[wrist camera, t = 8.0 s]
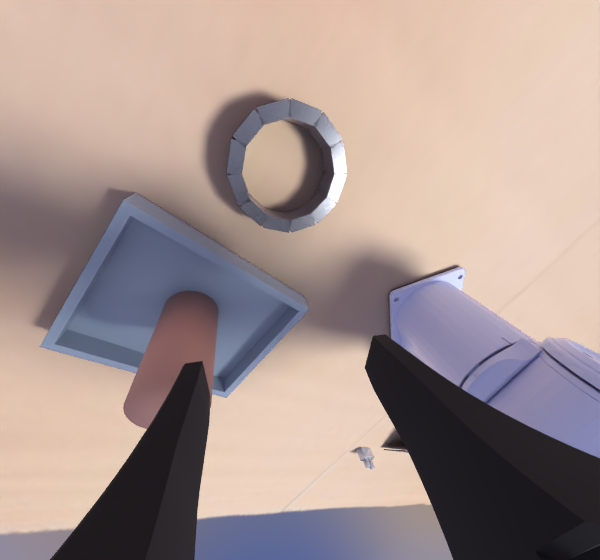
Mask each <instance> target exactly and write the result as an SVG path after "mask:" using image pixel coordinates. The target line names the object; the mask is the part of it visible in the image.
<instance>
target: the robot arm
mask: <svg viewBox="0 0 600 560" xmlns="http://www.w3.org/2000/svg"><path fill="white" fill-rule="evenodd" d="M464 275H465V269H464V268H462V267H458V268H455V269H452V270H449V271H446V272H444V273H441V274H438V275H435V276H432V277H429V278H427V279H424V280H421V281H418V282H415V283H412V284H410V285H407V286H404V287H401V288H398V289H395V290H393V291H392V292H391V293H390V295H389V298H390V324H391V338H389V337H388V336H387V335H378V336H373V338H372V342H371V346H370V350H369V354H368V357H367V361H366V365H365V369H366V372H367V374H368V377H369V379H370V382H371V384H372V386H373V389H374V391H375V392H376V394H377V396H378V398H379V400H380V402H381V403H382V405H383V407H384V409H385V411H386V412H387V414H388V416H389V418H390V419H391V421H392V423H393V425H394V426H395V428H396V430H397V432H398V433H399V435H400V437H401V439H402V441H403V442H404V444H405V446H406V448H407V450H408V452H409V454H410V456H411V459H412V461H413V463H414V465H415V467H416V470H417V472H418V474H419V476H420V478H421V481H422V483H423V485H424V488H425V490H426V492H427V495H428V497H429V499H430V502H431V504H432V506H433V508H434V511H435V514H436V516H437V519H438V521H439V523H440V526H441V528H442V531H443V533H444V536H445V538H446V541H447V544H448V546H449V549H450V551H451V554H452V557H453V560H600V355H599V354H598V353H596V352H594V351H592V350H590V349H588V348H586V347H584V346H582V345H580V344H578V343H576V342H574V341H571V340H569V339H566V338H555V339H554V338H546V339H545V340H544V341H543V342H542V343H541V342H538V341H535V340H534V339H533V338H531V337H530V336H528V335H527V334H525V333H524V332H522V331H521V330H519V329H518V328H516V327H515V326H513V325H512V324H510V323H509V322H507V321H506V320H504V319H503V318H501V317H500V316H498V315H497V314H495V313H494V312H492V311H491V310H489V309H488V308H486V307H485V306H484V305H482V304H481V303H479V302H478V301H476V300H475V299H473V298H472V297H470V296H469V295H467V294H466V293H464V292H463V291H462V287H463V281H464ZM395 298H396V299H395ZM209 416H210V391H209V387H208V382H207V378H206V374H205V369H204V365H203V361H198V362H191V363H185V364H184V365H183V367H182V369H181V371H180V373H179V375H178V377H177V379H176V381H175V383H174V384H173V386H172V388H171V390H170V392H169V394H168V395H167V397H166V399H165V401H164V402H163V404H162V406H161V407H160V409H159V411H158V412H157V414H156V416H155V417H154V419H153V421H152V422H151V424H150V426H149V427H148V429H147V430H146V432H145V433H144V435H143V436H142V438H141V440H140V441H139V443H138V444H137V446H136V447H135V449H134V450H133V452H132V453H131V455H130V456H129V458H128V459H127V460H126V462H125V463H124V465H123V466H122V468H121V469H120V470H119V472H118V473H117V475H116V476H115V477H114V479H113V480H112V482H111V483H110V484H109V486H108V487H107V488H106V490H105V491H104V492H103V494H102V495H101V496H100V498H99V499H98V500H97V502H96V503H95V504H94V505H93V507H92V508H91V509H90V511H89V512H88V513H87V514H86V516H85V517H84V518H83V520H82V521H81V522H80V523H79V525H78V526H77V527H76V529H75V530H74V531H73V532H72V534H71V535H70V536H69V537H68V539H67V540H66V541H65V542H64V543H63V545H62V546H61V547H60V548H59V550H58V551H57V552H56V553H55V554H54V556H53V557H52V558H51V559H50V560H194V555H195V539H196V524H197V508H198V499H199V491H200V484H201V477H202V470H203V463H204V456H205V449H206V442H207V435H208V427H209Z"/></svg>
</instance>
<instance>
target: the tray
mask: <svg viewBox="0 0 600 560" xmlns="http://www.w3.org/2000/svg"><path fill="white" fill-rule="evenodd" d="M183 291H197V292H201V293H204V294H206V295H208V296H209V297H211V298H212V299H213V300H214V301H215V303H216V304H217V307H218V325H217V337H216V349H215V362H214V374H213V387H212V394H214V395H218V396H221V397H225V398H227V397H228V396H229V395H230V393H231V392H232V391H233V390H234V389H235V388H236V387H237V386H238V385H239V384H240V383H241V382H242V381H243V380H244V379H245V377H246V376H247V375H248V374H249V373H250V372H251V371H252V370H253V369H254V368H255V367H256V366H257V365H258V364H259V363H260V361H261V360H262V359H263V358H264V357H265V356H266V355H267V354H268V353H269V352H270V351H271V350H272V349H273V348H274V347H275V345H276V344H277V343H278V342H279V341H280V340H281V339H282V338H283V337H284V336H285V335H286V334H287V333H288V332H289V331H290V329H291V328H292V327H293V326H294V325H295V324H296V323H297V322H298V321H299V320H300V319H301V318H302V317H303V316H304V315H305V313H306V312H307V311H308V310H309V307H308V305H307V303H306V301H305V298H304V296H303V295H301V294H300V293H298V292H296V291H295V290H293V289H292V288H290V287H288V286H287V285H285V284H283V283H282V282H280V281H279V280H277V279H275V278H274V277H272V276H270V275H269V274H267V273H266V272H264V271H262V270H261V269H259V268H257V267H256V266H254V265H253V264H251V263H249V262H248V261H246V260H244V259H243V258H241V257H240V256H238V255H236V254H235V253H233V252H231V251H230V250H228V249H227V248H225V247H223V246H222V245H220V244H219V243H217V242H215V241H214V240H212V239H210V238H209V237H207V236H206V235H204V234H202V233H201V232H199V231H197V230H196V229H194V228H193V227H191V226H189V225H188V224H186V223H184V222H183V221H181V220H180V219H178V218H176V217H175V216H173V215H171V214H170V213H168V212H167V211H165V210H163V209H162V208H160V207H158V206H157V205H155V204H154V203H152V202H150V201H149V200H147V199H145V198H144V197H142V196H141V195H139V194H137V193H134V194H133V195H131V196H129V197H127V198H126V199H124V200H123V202H122V203H121V205H120V207H119V209H118V210H117V212H116V214H115V216H114V217H113V219H112V221H111V223H110V224H109V226H108V228H107V230H106V231H105V233H104V235H103V237H102V239H101V240H100V242H99V244H98V246H97V247H96V249H95V251H94V253H93V254H92V256H91V258H90V260H89V261H88V263H87V265H86V267H85V268H84V270H83V272H82V274H81V275H80V277H79V279H78V281H77V282H76V284H75V286H74V288H73V289H72V291H71V293H70V295H69V296H68V298H67V300H66V302H65V303H64V305H63V307H62V309H61V311H60V312H59V314H58V316H57V318H56V319H55V321H54V323H53V325H52V326H51V328H50V330H49V332H48V333H47V335H46V337H45V339H44V340H43V342H42V344H41V346H40V347H42V348H46V349H49V350H53V351H57V352H60V353H64V354H68V355H71V356H75V357H79V358H82V359H86V360H90V361H93V362H97V363H101V364H104V365H108V366H112V367H115V368H119V369H123V370H126V371H130V372H134V373H137V371H138V368H139V366H140V363H141V361H142V358H143V356H144V354H145V351H146V349H147V346H148V344H149V341H150V339H151V336H152V334H153V332H154V329H155V327H156V324H157V322H158V319H159V317H160V314H161V312H162V309H163V307H164V305H165V303H166V301H167V300H168V299H169V298H170V297H171V296H173V295H174V294H176V293H179V292H183Z"/></svg>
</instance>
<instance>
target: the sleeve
mask: <svg viewBox="0 0 600 560" xmlns="http://www.w3.org/2000/svg"><path fill="white" fill-rule="evenodd" d="M283 119H284V120H287V121H290V122H292V123H295V124H298V125H300V126H303V127H306V128H307V130H308V131H309V132H310V134H311V135H312V136H313V138H314V139H315V140H316V141H317V143H318V144H319V145H320V147H321V153H322V159H323V165H324V172H323V176H322V179H321V182H320V186H319V189H318V192H317V193H316V194H315V195H314V196H313V197H312V198H311V199H310V200H309V201H308V202H307V203H306V204H305V205H304V206H303V207H300V208H297V209H294V210H291V211H288V212H285V213H284V212H280V211H275V210H271V209H267V208H264V207H263V206H262V205H261V204H260V203H259V202H258V201H256V200H255V199H254V198H253V197H252V196H251V195H250V194H249V193H248V190H247V188H246V185H245V182H244V179H243V176H242V169H243V162H244V156H245V150H246V146H247V145H248V143H249V142H250V141H251V140H252V139H253V137H254V136H255V135H256V134H257V132H258V131H259V130H260V129H261V128H262V126H263V125H265V124H269V123H272V122H276V121H279V120H283ZM233 137H234V138H235V139H236V140H234V139H231V144H230V152H229V159H228V166H227V177H228V180H229V183H230V185H231V188H232V191H233V193H234V196H235V198H236V201H237V204H238V206H239V205H240V209H242V210H243V211H244V212H245V213H246V214H247V215H249V216H250V217H251V218H252V219H253V220H254V221H255V222H257V223H258V224H259V225H260V226H262V225H263V227H264V228H268V229H273V230H278V231H283V232H288V233H289V230H290V231H291V232H294V231H298V230H301V229H304V228H307V227H310V226H313V225H315V222H316V223H318V222H319V221H320V220H321V219H322V218H323V217H324V216H325V215H326V214H327V213H328V212H329V211H330V210H331V209H332V208H333V207H334V206H335V205H336V204H335V203H334V202H338V199H339V196H340V193H341V190H342V187H343V184H344V181H345V178H346V175H345V174H343V173H346V172H347V168H346V160H345V151H344V143H343V141H340V140H341V139H342V137H341V136H340V135H339V133H338V132H337V130H336V129H335V127H334V126H333V125H332V123H331V122H330V120H329V119H328V117H327V116H326V115H325V113H324V112H323V113H321V110H319V109H317V108H314V107H312V106H309V105H307V104H304V103H302V102H299V101H297V100H295V99H290V100H289V98H287V99H284V100H280V101H277V102H273V103H269V104H266V105H262V106H259V107H256V109H254V110H253V111H252V112H251V113H250V115H249V116H248V117H247V118H246V119H245V121H244V122H243V123H242V124H241V126H240V127H239V128H238V129H237V131H236V132H235V133H234V134H233ZM333 201H334V202H333ZM314 221H315V222H314Z"/></svg>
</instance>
